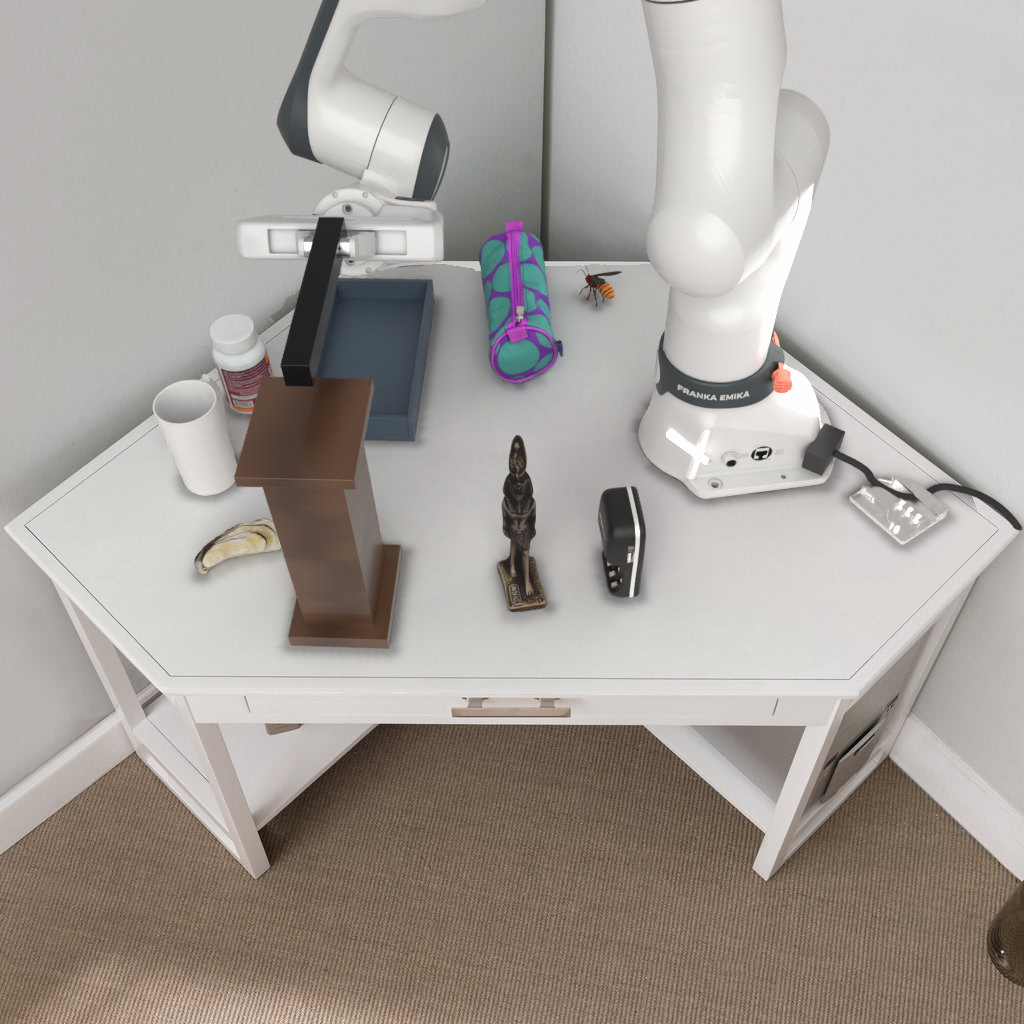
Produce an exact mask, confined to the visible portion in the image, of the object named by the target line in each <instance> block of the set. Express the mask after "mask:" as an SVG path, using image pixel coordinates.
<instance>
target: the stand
mask: <svg viewBox="0 0 1024 1024" xmlns="http://www.w3.org/2000/svg"><path fill="white" fill-rule="evenodd" d="M373 392H374V384H373V379H355V378H316V379H315V383H314V386H285V382H284V378H283V376H274V377H262V380H261V383H260V387H259V390H258V394H257V397H256V401H255V404H254V408H253V412H252V414H250V418H249V422H248V426H247V430H246V433H245V437H244V441H243V444H242V447H241V451H240V455H239V458H238V462H237V469H236V472H235V476H234V479H235V482H234V483H235V486H236V487H237V488H262V491H263V493H264V497H265V501H266V502H267V506H268V509H269V513H270V516H271V519H272V521H273V523H274V526H275V529H276V532H277V535H278V539H279V542H280V545H281V552H282V554H283V557H284V560H285V564H286V568H287V571H288V574H289V576H290V581H291V583H292V587H293V590H294V593H295V596H296V598H295V602H294V607H293V608H294V609H293V611H292V612H293V613H292V617H291V622H290V626H289V631H288V635H287V638H288V641H289V644H290V646H293V647H294V646H296V647H301V646H302V647H330V648H331V647H333V648H359V649H360V648H361V649H362V648H365V649H390V642H391V635H392V628H393V622H394V614H395V613H394V612H395V608H396V599H397V593H398V585H399V578H400V571H401V564H402V557H403V550H402V545H401V544H390V543H389V544H388V543H387V544H385V543H383V538H382V533H381V527H380V522H379V517H378V512H377V511H378V510H377V506H376V501H375V496H374V490H373V485H372V480H371V479H372V478H371V475H370V469H369V464H368V459H367V458H368V457H367V453H366V447H365V441H366V440H365V436H366V430H367V425H368V419H369V414H370V409H371V403H372V398H373Z"/></svg>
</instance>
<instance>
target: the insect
mask: <svg viewBox="0 0 1024 1024" xmlns="http://www.w3.org/2000/svg"><path fill="white" fill-rule="evenodd" d="M585 269H586V271H587V274H586V272H585V271H584V269H581V271H582V272H583V274H584V279H585V283H586V284H587V285H586V286H584V287H582V288H581V290H580V292H579V293H578V295H581V294H582V292H583V290H585V289H588V288H589V293H588V294H587V298H586V299H585V300H586V301H588V300H590V296H591V294H592V292H593V296H594V299H595V303H596V304H595V307H598V300H597V299H598V298H597V296H596V295H597V292H598V293H599V294H600V295H601V297H602V303H604V302H605V299H608V300H612V299H615V298H616V296H615V295H616V294H615V290H614V288H613V286H612V285H611V284H610V283H609V282H608V281H606V279H605V278H602V277H612V276H617V275H620V274H622V273H623V272H622V271H621V270H616V271H607V272H602V273H601V272H600V273H595V274H592V275H591V274H590V273H589V270H588V268H587V266H585ZM579 271H580V269H578V270H577V271H576V272H575V274H577V273H578V272H579Z"/></svg>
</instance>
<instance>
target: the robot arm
mask: <svg viewBox="0 0 1024 1024" xmlns="http://www.w3.org/2000/svg"><path fill="white" fill-rule="evenodd" d="M487 1H488V0H322V1H321V3H320V5H319V8H318V11H317V13H316V16H315V18H314V21H313V23H312V26H311V29H310V32H309V35H308V37H307V40H306V43H305V45H304V47H303V51H302V53H301V56H300V58H299V61H298V64H297V66H296V68H295V71H294V73H293V74H292V75H291V77H290V79H289V80H288V82H287V84H286V85H285V87H284V89H283V92H282V94H281V97H280V100H279V103H278V108H277V116H276V126H277V129H278V131H279V134H280V136H281V138H282V140H283V141H284V143H285V145H286V147H287V149H288V150H289V151H290V153H291V155H293V156H295V157H300V158H303V159H305V160H308V161H311V162H314V163H317V164H320V165H325V166H327V167H330V168H332V169H335V170H337V171H339V172H341V173H344V174H346V175H348V176H350V177H353V178H355V179H357V180H360V181H357V182H354V183H352V184H349V185H346V186H344V187H341V188H339V189H336V190H334V191H332V192H330V193H328V194H326V195H325V196H324V197H323V198H321V200H320V201H318V203H317V205H316V206H315V208H314V209H313V212H312V214H267V215H265V214H264V215H257V216H252V217H248V218H244V219H239V220H238V221H237V222H236V223H235V242H236V243H235V245H236V251H237V254H238V256H239V257H240V258H242V259H245V260H277V261H278V260H280V261H281V260H284V261H285V260H286V261H287V260H288V261H308V257H309V253H310V249H311V246H312V242H313V238H314V234H315V230H316V226H317V223H318V219H319V217H344V220H345V225H346V231H347V237H341V238H340V240H339V247H340V248H341V249H340V257H341V258H343V261H342V265H341V270H340V274H339V275H342V276H348V277H362V276H366V275H369V274H372V273H374V272H375V273H379V272H383V271H386V270H390V269H394V268H395V269H396V268H407V267H424V266H433V265H435V264H437V263H440V262H443V261H444V259H445V225H444V223H445V222H444V217H443V214H442V213H441V212H440V211H438V206H437V202H436V201H434V200H435V198H436V197H437V194H438V192H439V190H440V186H441V185H442V182H443V180H444V177H445V174H446V170H447V168H448V167H447V166H448V162H449V159H450V152H451V151H450V150H451V144H450V138H449V134H448V131H447V127H446V124H445V123H444V120H443V118H442V117H441V115H440V114H439V112H436V111H433V110H431V109H430V108H427V107H425V106H423V105H422V104H418V103H417V102H414V101H412V100H410V99H408V98H405V97H403V96H399V95H397V94H395V93H392V92H390V91H388V90H385V89H384V88H381V87H379V86H377V85H375V84H373V83H370V82H368V81H367V80H364V79H361V78H359V77H357V76H356V75H355V74H353V73H352V72H351V71H349V69H348V68H347V67H346V65H345V62H346V59H347V56H348V54H349V52H350V49H351V47H352V45H353V42H354V40H355V38H356V35H357V34H358V31H359V28H360V26H361V24H362V22H365V21H367V20H372V19H373V20H374V19H387V18H389V19H406V20H415V21H421V22H441V21H449V20H454V19H457V18H459V17H462V16H465V15H468V14H470V13H471V12H474V11H475V10H476V9H478V8H480V7H481V6H482V5H484V3H486V2H487ZM641 6H642V11H643V16H644V21H645V27H646V32H647V38H648V42H649V48H650V54H651V58H652V64H653V71H654V75H655V85H656V100H657V135H656V137H657V139H656V141H657V142H656V144H657V145H656V174H655V190H654V192H655V193H654V199H653V204H652V209H651V214H650V218H649V222H648V226H647V229H646V234H645V249H646V254H647V257H648V260H649V262H650V265H651V266H652V268H653V270H654V271H655V272H656V274H657V275H658V276H659V277H660V278H661V280H663V282H664V283H666V285H668V286H669V291H668V298H667V308H666V316H665V325H664V330H663V332H662V334H661V336H660V339H659V343H658V349H656V357H655V363H654V365H655V366H654V377H653V378H654V383H655V385H654V390H653V393H652V397H651V399H650V402H649V404H648V407H647V409H646V411H645V413H644V414H643V416H642V418H641V420H640V423H639V426H638V433H637V434H638V441H639V442H638V443H639V445H640V447H641V450H642V451H643V453H644V455H645V456H646V458H647V459H648V460H649V461H650V462H651V463H652V464H653V465H654V466H655V467H657V468H658V470H660V471H662V472H664V473H666V474H667V475H669V476H671V477H673V478H675V479H677V480H679V481H680V482H681V483H683V485H685V486H686V488H687V489H688V490H689V491H690V492H691V493H692V494H693V495H695V497H698V498H699V499H704V500H708V499H714V498H716V499H718V498H724V497H731V496H733V497H734V496H740V495H741V496H742V495H748V494H755V493H763V492H770V491H771V492H772V491H779V490H780V491H781V490H786V489H795V488H803V487H811V486H818V485H822V484H825V483H826V482H827V481H828V479H830V476H831V475H832V472H833V471H834V465H835V460H836V459H838V460H839V461H841V462H844V463H846V464H848V465H850V466H852V467H853V468H854V469H857V470H858V471H860V473H863V474H864V476H865V478H866V480H867V481H868V482H869V484H870V483H871V484H872V485H875V486H878V487H881V488H883V489H885V490H887V491H888V492H890V493H892V494H893V495H895V496H897V497H899V498H902V499H907V500H918V498H917V497H916V496H914V495H913V494H908V493H902V492H899V491H896V490H894V489H891V488H889V487H888V486H886V485H884V484H883V483H881V482H880V481H878V480H877V479H878V478H876V477H875V476H874V473H873V471H872V470H871V469H870V468H869V467H868V466H867V465H866V464H863V462H861V461H860V460H857V459H855V458H853V457H852V456H850V455H847V454H845V453H844V452H841V451H840V449H841V448H842V447H841V446H842V443H843V441H844V437H845V435H846V431H845V430H843V429H841V428H838V427H836V426H833V425H832V422H831V420H830V417H829V415H828V412H827V411H826V410H825V408H824V406H823V405H822V403H821V402H820V401H819V400H818V398H817V396H816V393H815V391H814V388H813V386H812V384H811V382H810V381H809V379H808V378H807V377H806V375H804V374H803V373H801V372H800V371H798V370H797V369H795V368H792V367H790V366H788V365H787V364H785V359H786V358H785V351H784V349H783V348H782V347H781V345H780V341H779V337H778V335H777V333H776V331H775V330H774V325H775V322H776V317H777V313H778V308H779V304H780V300H781V297H782V293H783V290H784V287H785V285H786V282H787V280H788V277H789V274H790V271H791V269H792V266H793V262H794V260H795V257H796V254H797V251H798V248H799V245H800V242H801V239H802V236H803V234H804V230H805V227H806V224H807V221H808V218H809V214H810V212H811V208H812V205H813V202H814V199H815V195H816V192H817V189H818V188H817V187H818V186H819V183H820V179H821V176H822V173H823V169H824V167H825V164H826V160H827V157H828V155H829V154H828V153H829V150H830V145H831V130H830V125H829V123H828V120H827V118H826V116H825V114H824V112H823V110H822V109H821V108H820V106H819V105H818V104H817V103H816V102H815V101H814V100H813V99H811V97H808V96H807V95H805V94H804V93H801V92H800V91H796V90H793V89H789V88H782V83H783V77H784V73H785V69H786V64H787V57H788V46H787V39H786V38H787V37H786V31H785V22H784V21H785V19H784V13H783V12H784V11H783V4H782V0H641ZM773 330H774V331H773ZM772 335H773V336H772ZM925 489H926V490H927V491H928V492H930V493H931V494H932V495H934V494H935V493H937V492H941V491H949V492H950V491H951V492H957V493H961V494H965V495H968V496H971V497H973V498H976V499H979V500H980V501H982V502H984V503H986V504H988V505H989V506H991V507H992V508H993V509H995V510H996V511H998V513H999V514H1001V516H1003V517H1004V518H1005V519H1006V520H1007V521H1008V523H1010V525H1011V527H1012V528H1013V529H1014V530H1016V531H1020V532H1021V531H1022V530H1023V526H1022V525H1021V523H1020V522H1019V520H1018V519H1017V517H1016V516H1015V515H1014V514H1013V513H1012V512H1011V511H1010V510H1009V509H1008V508H1006V506H1004V505H1003V504H1002V503H1001V502H999V501H998V500H997V499H996V498H994V497H992V496H990V495H988V494H986V493H984V492H982V491H980V490H977V489H975V488H971V487H967V486H965V485H960V484H955V483H949V482H948V483H947V482H941V483H936V484H933V485H931V486H929V487H927V488H925Z"/></svg>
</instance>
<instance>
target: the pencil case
mask: <svg viewBox="0 0 1024 1024" xmlns="http://www.w3.org/2000/svg"><path fill="white" fill-rule="evenodd" d="M505 231H506V232H497V233H495V234H493V235H491V236H489V237H488V238H487V239H486V240H485V241H484V242H483V243H482V245H481V248H480V249H479V253H478V262H479V266H480V274H481V282H482V289H483V294H484V301H485V308H486V309H485V310H486V316H487V321H488V343H489V351H488V361H489V364H490V367H491V369H492V370H493V372H494V374H495V375H496V376H497V377H499V378H500V379H502V380H503V381H505V382H508V383H512V384H523V383H526V382H529V381H532V380H534V379H536V378H538V377H539V376H541V375H543V374H545V373H547V372H548V371H549V370H550V369H551V368H553V366H554V365H555V364H556V362H557V361H558V357H559V356H560V357H563V356H564V345H563V341H562V340H561V339H558V340H557V339H556V337H555V333H554V331H553V329H552V314H551V303H550V300H549V287H548V278H547V270H546V269H547V268H546V263H545V259H544V247H543V244H542V242H541V241H540V239H539V238H538V237H537V236H536V235H535V234H533V233H531V232H529V231H524V222H523V220H511V221H510V220H509V221H506V227H505Z"/></svg>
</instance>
